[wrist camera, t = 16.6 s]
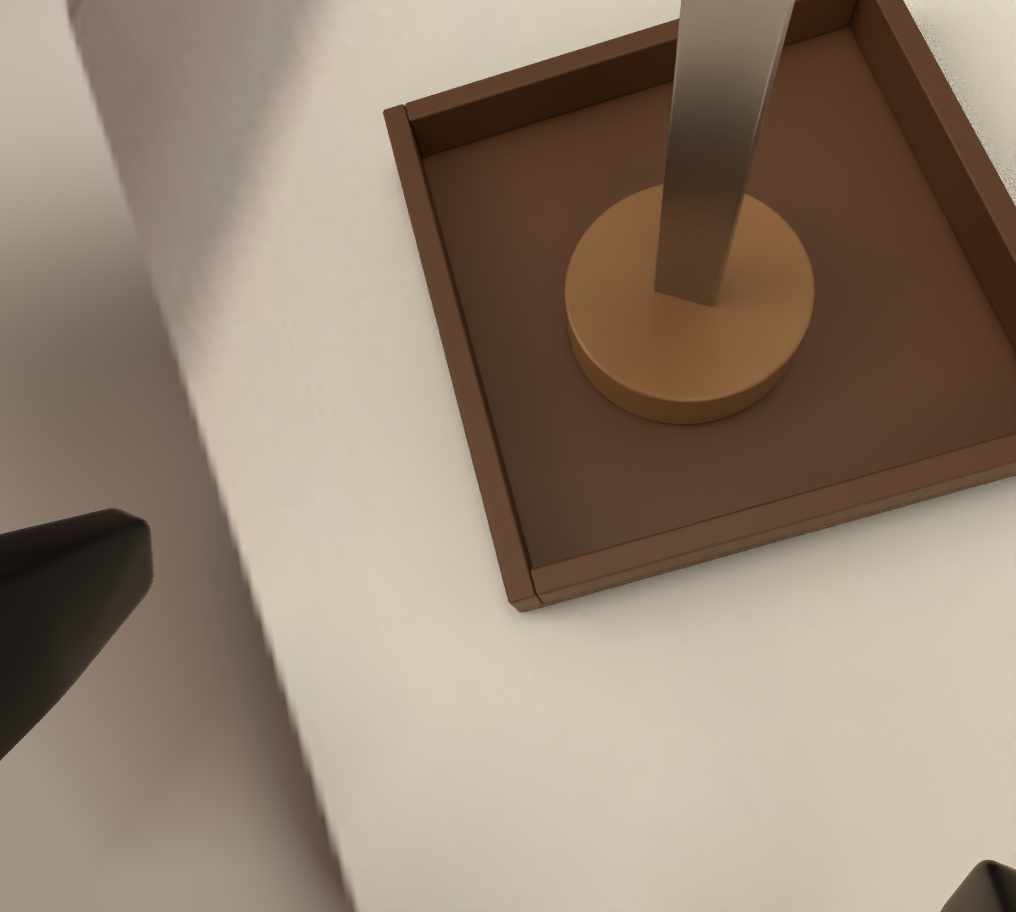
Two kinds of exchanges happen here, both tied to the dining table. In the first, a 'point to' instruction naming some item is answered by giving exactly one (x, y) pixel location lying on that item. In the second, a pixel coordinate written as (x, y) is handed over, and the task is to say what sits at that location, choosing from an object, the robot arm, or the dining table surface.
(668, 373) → the red knob post
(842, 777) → the dining table surface
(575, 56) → the tray
